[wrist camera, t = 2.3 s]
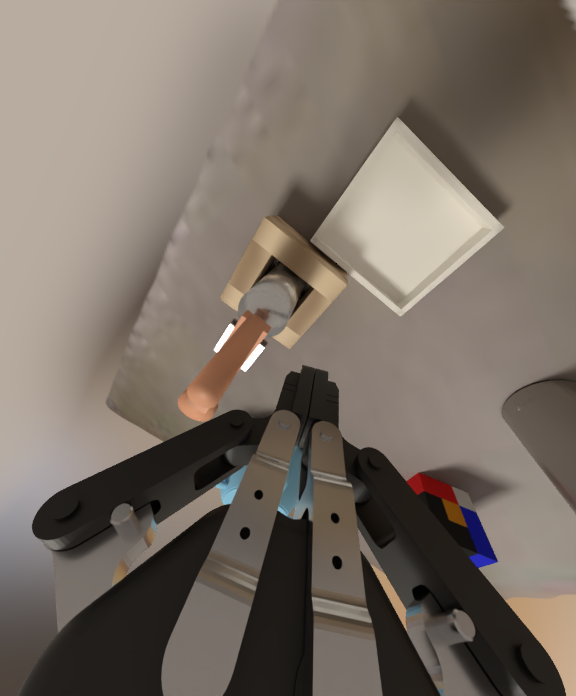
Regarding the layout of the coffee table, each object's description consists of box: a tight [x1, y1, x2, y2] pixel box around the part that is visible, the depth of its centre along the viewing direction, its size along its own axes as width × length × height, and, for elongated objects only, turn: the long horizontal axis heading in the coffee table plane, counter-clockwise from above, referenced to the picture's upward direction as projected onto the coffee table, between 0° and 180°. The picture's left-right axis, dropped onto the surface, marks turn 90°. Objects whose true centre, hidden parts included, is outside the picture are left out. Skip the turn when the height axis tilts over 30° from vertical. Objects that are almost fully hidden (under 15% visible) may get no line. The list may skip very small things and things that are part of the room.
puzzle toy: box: [406, 473, 498, 568], centre depth 41 cm, size 10×10×10 cm
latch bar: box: [178, 310, 271, 421], centre depth 19 cm, size 4×16×9 cm, turn 144°
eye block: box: [220, 215, 347, 349], centre depth 26 cm, size 10×10×5 cm
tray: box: [310, 117, 504, 317], centre depth 23 cm, size 13×11×2 cm
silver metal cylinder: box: [238, 263, 305, 337], centre depth 24 cm, size 4×4×11 cm
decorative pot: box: [215, 445, 303, 519], centre depth 41 cm, size 16×16×14 cm
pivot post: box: [214, 321, 266, 372], centre depth 31 cm, size 6×6×11 cm
